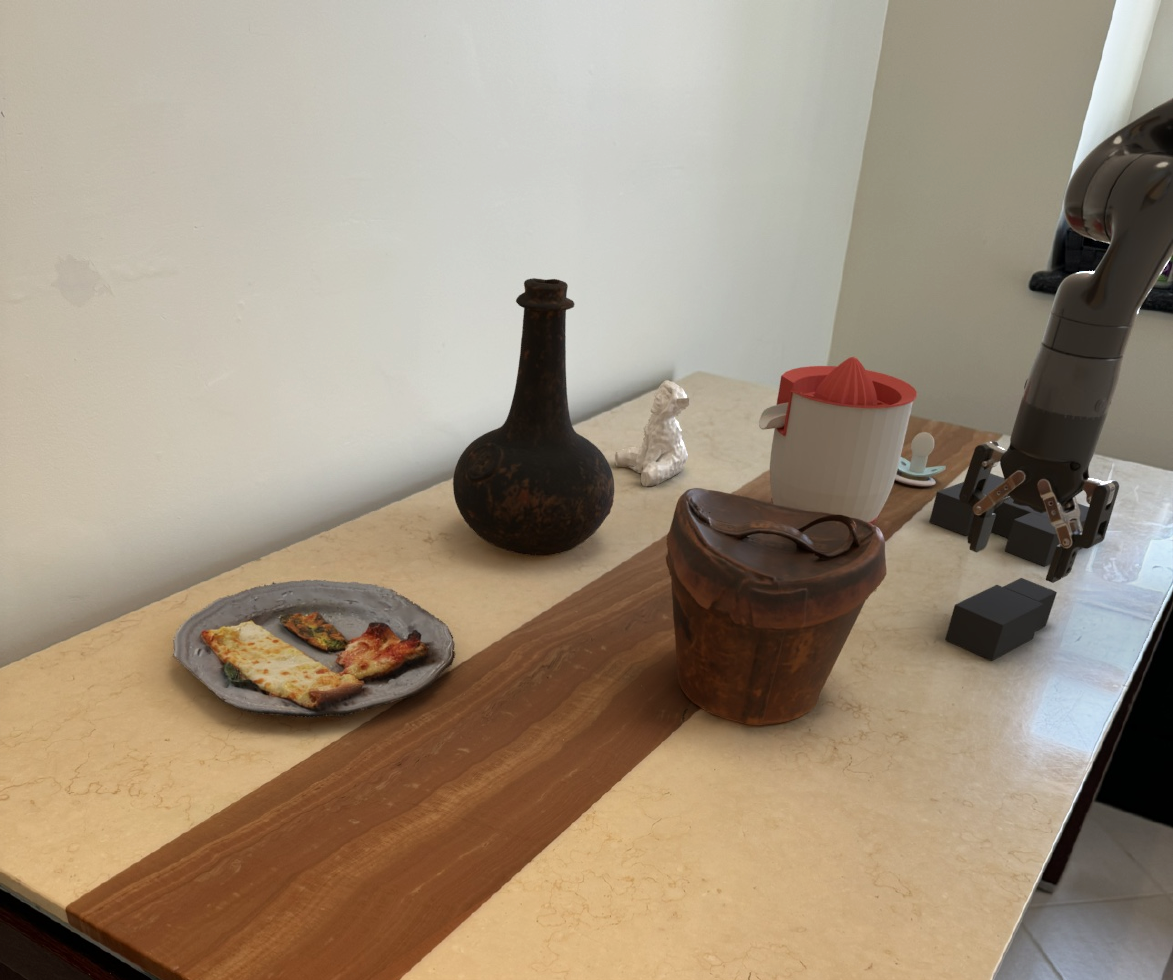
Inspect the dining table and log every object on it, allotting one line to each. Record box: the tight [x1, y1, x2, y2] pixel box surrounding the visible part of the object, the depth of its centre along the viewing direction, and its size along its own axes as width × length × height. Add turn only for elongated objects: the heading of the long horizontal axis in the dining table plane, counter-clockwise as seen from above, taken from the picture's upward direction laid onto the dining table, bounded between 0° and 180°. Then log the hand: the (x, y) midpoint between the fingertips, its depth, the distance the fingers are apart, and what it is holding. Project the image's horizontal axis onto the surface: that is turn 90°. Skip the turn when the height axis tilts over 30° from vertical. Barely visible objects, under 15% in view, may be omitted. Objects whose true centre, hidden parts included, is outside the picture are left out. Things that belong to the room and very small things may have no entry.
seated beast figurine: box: [614, 379, 690, 487], centre depth 144 cm, size 10×9×12 cm
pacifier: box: [894, 431, 947, 487], centre depth 149 cm, size 7×6×6 cm
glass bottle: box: [452, 277, 615, 557], centre depth 119 cm, size 18×18×28 cm
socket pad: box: [929, 472, 1089, 567], centre depth 137 cm, size 16×12×4 cm
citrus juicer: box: [758, 356, 918, 525], centre depth 130 cm, size 16×17×20 cm
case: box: [665, 487, 888, 726], centre depth 97 cm, size 18×20×18 cm
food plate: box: [172, 579, 456, 719], centre depth 101 cm, size 25×23×4 cm
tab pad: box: [944, 577, 1058, 662], centre depth 114 cm, size 6×12×4 cm, turn 132°
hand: (1014, 564), depth 110 cm, fingers open, 8 cm apart
